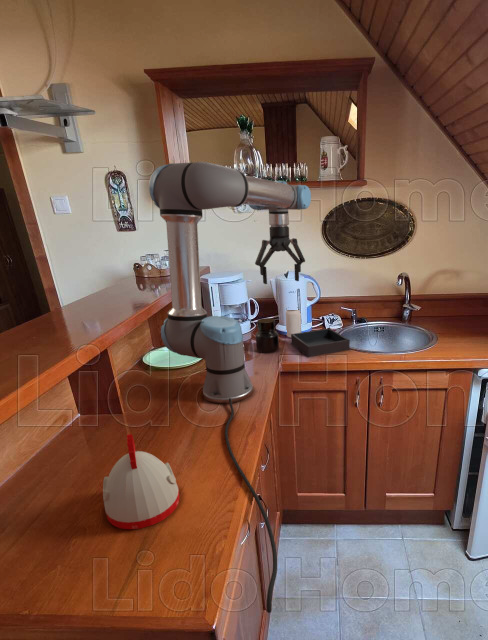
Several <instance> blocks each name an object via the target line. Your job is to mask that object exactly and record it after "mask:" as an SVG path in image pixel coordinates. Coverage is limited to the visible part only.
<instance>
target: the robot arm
mask: <svg viewBox="0 0 488 640" xmlns="http://www.w3.org/2000/svg"><path fill="white" fill-rule="evenodd" d="M148 192H149V197H150V199H151V201H152V202H153V204H154V206H156V208H158V209H159V216H160V217H161V218H162V219H163V220H164V222H165V225H166V237H167V252H168V253H167V254H168V263H169V264H168V265H169V279H170V295H171V308H170V309H169V310H168V311H167V317H166V318H165V319H164V321H163V322H162V323H163V324H162V325H161V327H160V337H161V341H162V343H163V345H164V346H165V347H166V349H167V350H168V351H170V352H172V353H174V354H177V355H180V356H186V357H191V358H196V359H201V360H204V361H205V370H206V373H205V379H204V383H203V388H202V394H203V398H204V399H205V400H206V401H208V402H210V403H213V404H223V405H224V404H229V408H230V416H229V418H228V420H227V421H226V424H225V427H224V437H225V438H224V439H225V444H226V448H227V451H228V453H229V456H230V458H231V461H232V462H233V464H234V466H235V468H236V470H237V472H238V474H239V475H240V477H241V478H242V480H243V481H244V483H245V485H246V486H247V488H248V490H249V491H250V493H251V495H252V497H253V499H254V500H255V502H256V504H257V506H258V508H259V511H260V513H261V515H262V518H263V520H264V523H265V526H266V531H267V533H268V537H269V541H270V548H271V553H272V572H271V577H270V580H269V584H268V588H267V593H266V612H267V613H268V614H271V613H272V607H273V605H272V604H273V603H272V601H273V593H274V587H275V583H276V579H277V575H278V552H277V546H276V542H275V541H276V540H275V538H274V533H273V531H272V527H271V523H270V520H269V518H268V515H267V512H266V511H265V509H264V506H263V504H262V502H261V500H260V498H259V496H258V494H257V493H256V491H255V489H254V488H253V486H252V485H251V483H250V481H249V480H248V478H247V476H246V474H245V473H244V472H243V470H242V468H241V467H240V465H239V462H238V461H237V460H236V457H235V455H234V453H233V451H232V448H231V444H230V440H229V434H228V433H229V427H230V424H231V422H232V420H233V418H234V414H235V410H234V407H233V404H234V403H238V402H241V401H244V400H246V399H247V398H249V397H251V396H252V394H253V392H254V385H253V382H252V380H251V378H250V376H249V373H248V372H247V369H246V364H245V363H246V362H245V349H244V335H243V334H244V333H243V330H242V326H241V323H240V321H238V320H237V319H235V318H233V317H230V316H225V315H220V316H218V315H212V316H208V312H207V311H206V310H205V309H204V308H203V306H202V292H201V291H202V290H201V270H200V251H199V250H200V249H199V231H198V229H199V228H198V227H199V226H198V223H199V222H200V221H201V220H202V219H203V210H212V209H220V208H229V207H230V208H238V207H241V206H243V205H248V206H249V208H250V209H252V210H255V211H268V224H269V240H266V239H261V247H260V249H259V252H258V254H257V257H256V259H255V262H254V264H255V266H258V267H259V272H260V276H262V283H263V284H264V285H267V284H268V276H267V275H268V273H267V272H268V271H267V267H266V264H267V263H268V262H269V260H270V258H272V256H273V255H274V253H275V252H287V254H288V256H290V257H291V258H292V260H293V261H294V265H293V267H294V281H296V282H300V273H301V271H302V267H301V266H302V264H303V263H305V262H306V259H305V257H304V255H303V252H302V250H301V248H300V247H299V244H298V239H297V238H294V237H293V238H291V239H290V226H289V225H290V218H289V216H290V215H289V211H291V210H293V211H294V210H298V211H300V210H307V209H308V208H309V207H310V205H311V203H312V193H311V190H310V188H309V186H307V185H305V184H288V183H287V182H286V181H285V180H269V179H265V178H260V177H255V176H250V175H245V173H244V172H243V171H241V170H239V169H237V168H231V167H228V166H224V165H221V164H217V163H212V162H207V161H195V162H176V163H175V162H173V163H168V164H164V165H160V166H158V167H157V168H155V170H154V171H153V173H152V174H151V175H150V178H149V181H148ZM290 244H291V245H292V247H293V249H294V251H295V253H294V251H293V250H292V249H291V247H290ZM268 246H270V247H269V248H268V251H267V253H266V254H265V252H266V250H267V247H268Z"/></svg>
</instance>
